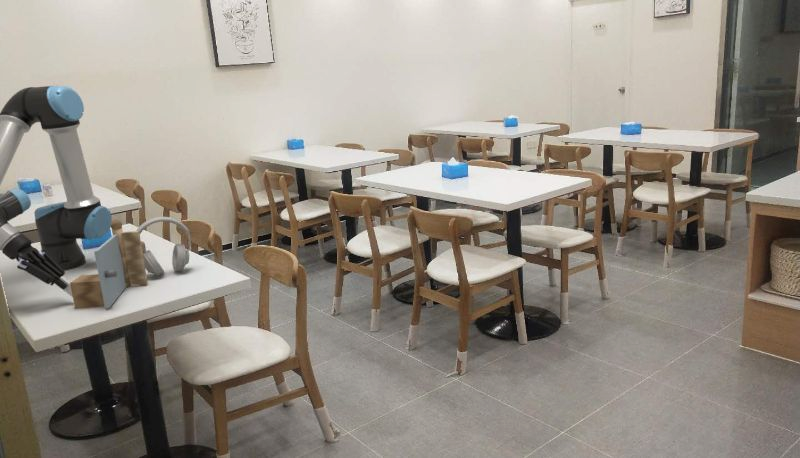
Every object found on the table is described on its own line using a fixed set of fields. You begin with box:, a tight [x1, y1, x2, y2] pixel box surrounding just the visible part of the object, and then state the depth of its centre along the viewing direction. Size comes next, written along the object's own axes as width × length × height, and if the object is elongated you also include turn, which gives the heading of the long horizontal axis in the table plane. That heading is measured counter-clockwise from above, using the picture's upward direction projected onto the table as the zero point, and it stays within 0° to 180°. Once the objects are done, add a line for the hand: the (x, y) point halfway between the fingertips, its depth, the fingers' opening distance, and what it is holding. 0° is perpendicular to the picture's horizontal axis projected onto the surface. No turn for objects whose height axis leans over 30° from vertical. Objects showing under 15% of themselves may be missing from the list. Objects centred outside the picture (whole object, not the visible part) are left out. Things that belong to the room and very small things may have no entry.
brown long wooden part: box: [110, 219, 149, 288], centre depth 196 cm, size 8×3×22 cm, turn 93°
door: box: [93, 234, 127, 309], centre depth 186 cm, size 4×20×18 cm, turn 9°
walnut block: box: [70, 273, 105, 309], centre depth 184 cm, size 9×7×8 cm
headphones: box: [135, 216, 192, 277], centre depth 207 cm, size 19×9×20 cm, turn 120°
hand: (76, 293), depth 185 cm, fingers closed
